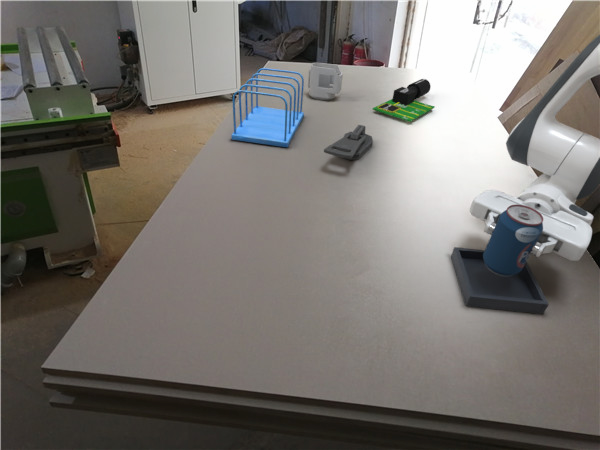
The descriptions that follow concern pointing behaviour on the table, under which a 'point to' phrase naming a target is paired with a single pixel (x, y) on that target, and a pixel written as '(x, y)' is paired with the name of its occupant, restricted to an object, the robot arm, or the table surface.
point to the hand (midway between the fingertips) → (511, 241)
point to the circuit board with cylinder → (407, 101)
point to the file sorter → (268, 114)
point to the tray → (496, 285)
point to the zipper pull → (351, 144)
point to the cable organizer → (324, 81)
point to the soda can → (513, 240)
